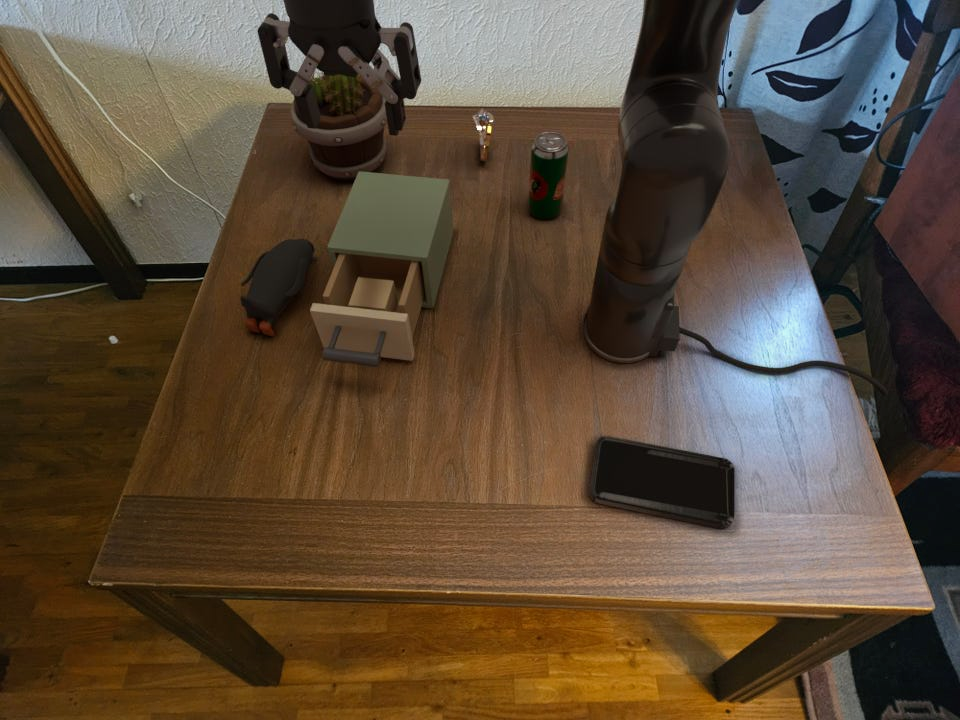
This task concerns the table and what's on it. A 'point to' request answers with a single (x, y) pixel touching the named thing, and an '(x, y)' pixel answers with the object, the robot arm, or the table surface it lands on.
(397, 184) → the cabinet
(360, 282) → the block
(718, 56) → the robot arm
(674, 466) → the phone
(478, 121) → the ring
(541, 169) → the soda can
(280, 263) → the figurine
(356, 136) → the flowerpot
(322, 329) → the drawer
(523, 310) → the table surface
